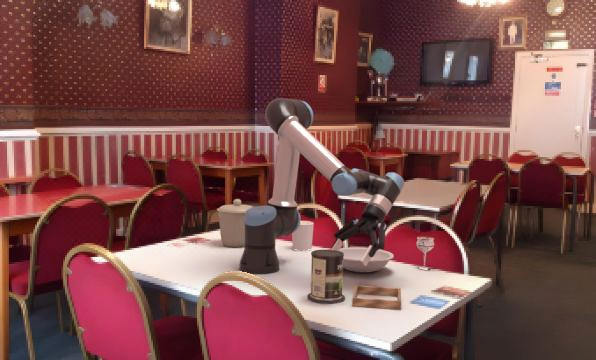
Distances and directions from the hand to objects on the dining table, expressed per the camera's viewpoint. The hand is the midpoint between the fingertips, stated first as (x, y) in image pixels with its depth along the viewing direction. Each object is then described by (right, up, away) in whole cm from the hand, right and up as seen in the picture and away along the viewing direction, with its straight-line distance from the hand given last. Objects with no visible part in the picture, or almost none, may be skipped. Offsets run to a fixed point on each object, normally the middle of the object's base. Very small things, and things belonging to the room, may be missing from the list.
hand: (346, 260), depth 189 cm
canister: (-44, -3, +72) cm, 84 cm away
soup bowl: (+8, -9, +31) cm, 33 cm away
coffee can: (-7, -11, -6) cm, 14 cm away
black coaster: (-7, -11, -6) cm, 15 cm away
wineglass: (+33, -9, +37) cm, 50 cm away
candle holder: (-14, -5, +67) cm, 68 cm away
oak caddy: (+9, -12, -8) cm, 17 cm away
